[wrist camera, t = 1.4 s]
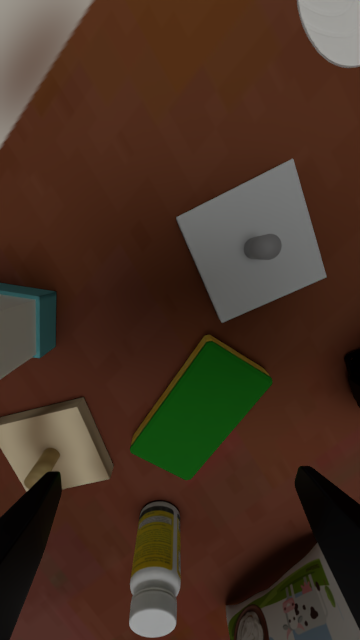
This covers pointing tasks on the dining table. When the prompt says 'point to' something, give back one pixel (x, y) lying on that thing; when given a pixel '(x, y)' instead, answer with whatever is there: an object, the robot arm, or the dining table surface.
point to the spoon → (333, 29)
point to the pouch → (296, 607)
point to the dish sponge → (199, 408)
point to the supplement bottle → (156, 571)
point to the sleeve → (25, 325)
